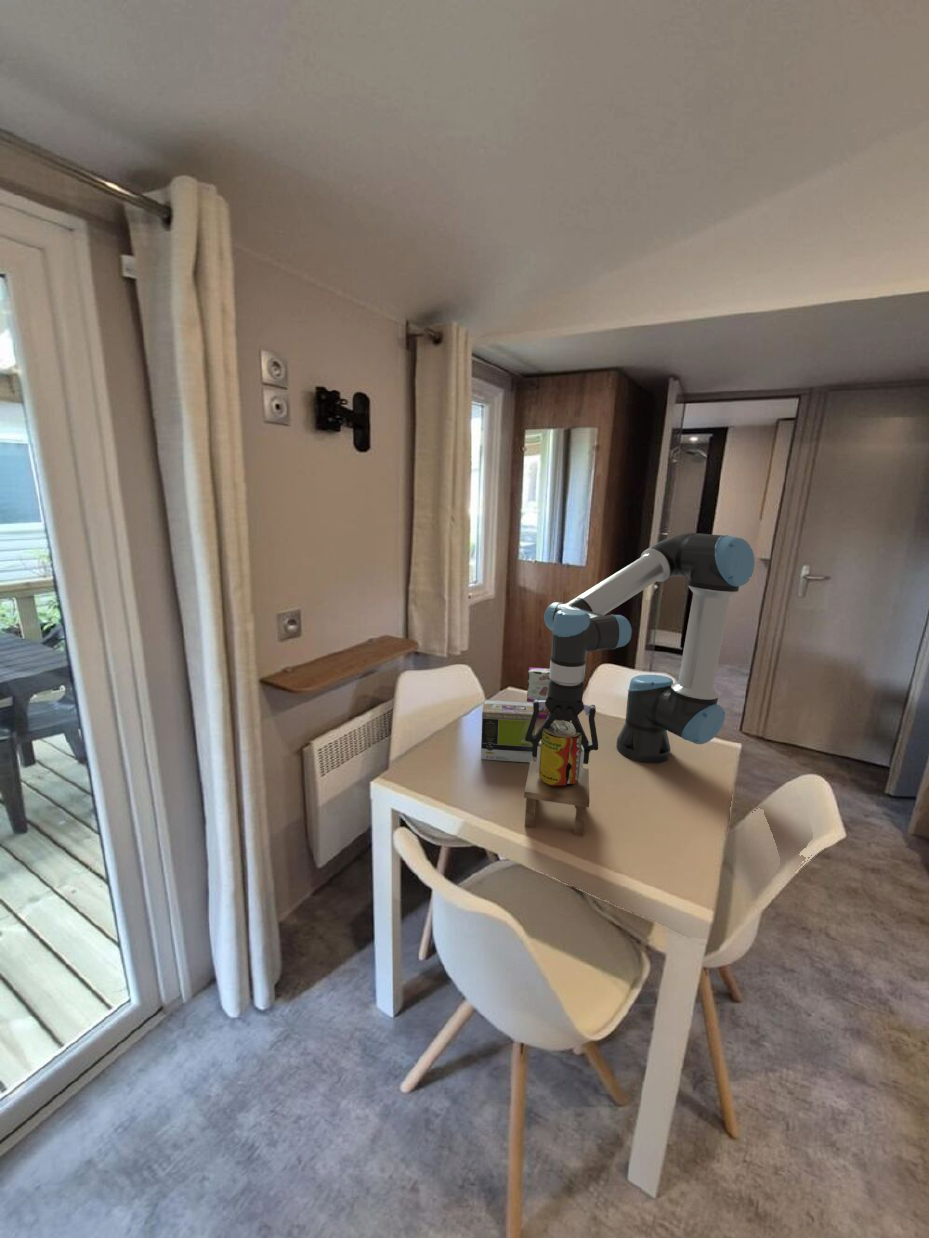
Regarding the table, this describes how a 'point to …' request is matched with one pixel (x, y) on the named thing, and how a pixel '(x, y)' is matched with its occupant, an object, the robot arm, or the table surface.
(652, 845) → the table surface
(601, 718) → the table surface
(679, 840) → the table surface
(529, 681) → the candy bar box
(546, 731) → the beverage can
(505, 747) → the tea box
